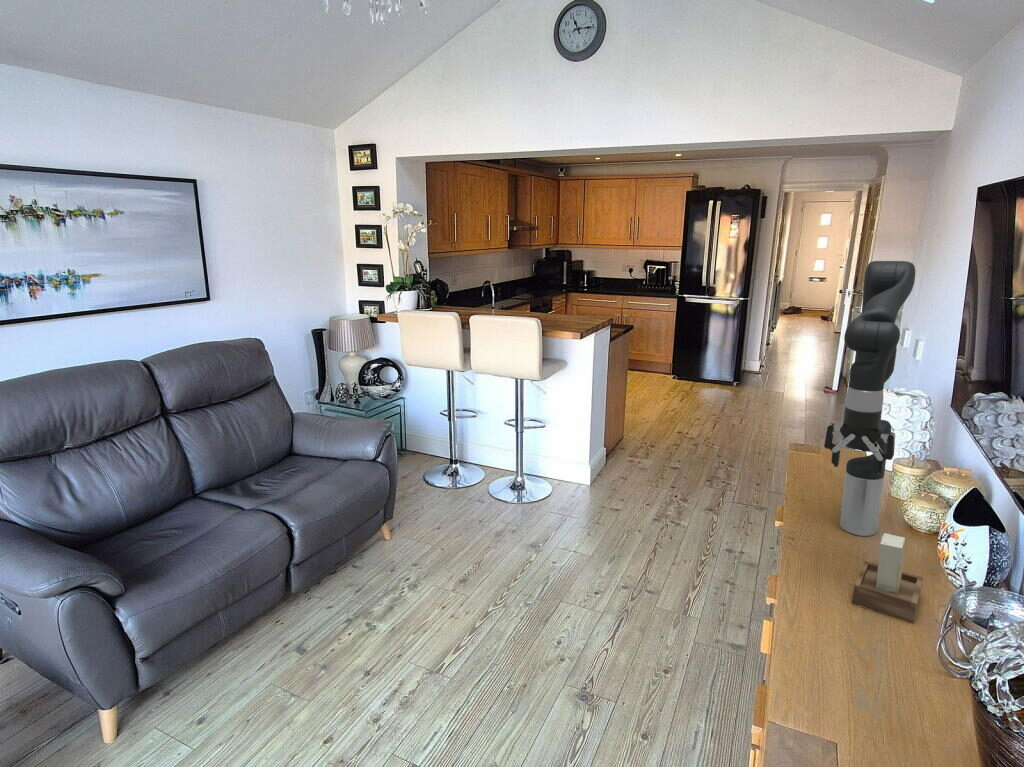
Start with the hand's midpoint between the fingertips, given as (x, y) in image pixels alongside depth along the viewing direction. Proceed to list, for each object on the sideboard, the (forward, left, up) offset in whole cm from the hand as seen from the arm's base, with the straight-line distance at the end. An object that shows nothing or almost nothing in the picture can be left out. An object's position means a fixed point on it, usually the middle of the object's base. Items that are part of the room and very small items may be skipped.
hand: (855, 469), depth 142 cm
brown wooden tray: (+7, +10, -29) cm, 31 cm away
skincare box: (+8, +10, -25) cm, 28 cm away
